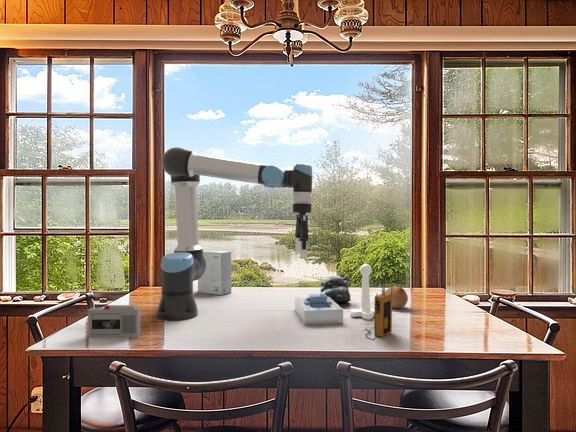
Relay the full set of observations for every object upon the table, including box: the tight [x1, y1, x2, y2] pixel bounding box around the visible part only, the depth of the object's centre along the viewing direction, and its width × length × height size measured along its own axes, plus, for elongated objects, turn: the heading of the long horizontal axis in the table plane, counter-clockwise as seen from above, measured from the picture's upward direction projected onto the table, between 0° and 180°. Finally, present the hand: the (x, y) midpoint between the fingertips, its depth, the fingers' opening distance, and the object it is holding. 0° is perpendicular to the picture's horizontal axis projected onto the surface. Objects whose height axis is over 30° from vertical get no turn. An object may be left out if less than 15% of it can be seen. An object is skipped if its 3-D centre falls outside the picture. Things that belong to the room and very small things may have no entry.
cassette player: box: [87, 304, 142, 339], centre depth 138 cm, size 16×3×10 cm, turn 92°
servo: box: [304, 292, 332, 308], centre depth 163 cm, size 10×4×9 cm, turn 98°
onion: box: [385, 286, 409, 309], centre depth 177 cm, size 10×9×10 cm
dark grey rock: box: [320, 274, 352, 304], centre depth 187 cm, size 15×12×14 cm
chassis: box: [294, 296, 344, 326], centre depth 163 cm, size 14×22×5 cm, turn 8°
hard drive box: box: [197, 250, 232, 296], centre depth 207 cm, size 16×8×20 cm, turn 58°
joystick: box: [350, 263, 374, 320], centre depth 162 cm, size 11×8×20 cm
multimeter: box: [363, 272, 393, 341], centre depth 143 cm, size 15×10×20 cm
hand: (300, 255), depth 172 cm, fingers open, 13 cm apart
